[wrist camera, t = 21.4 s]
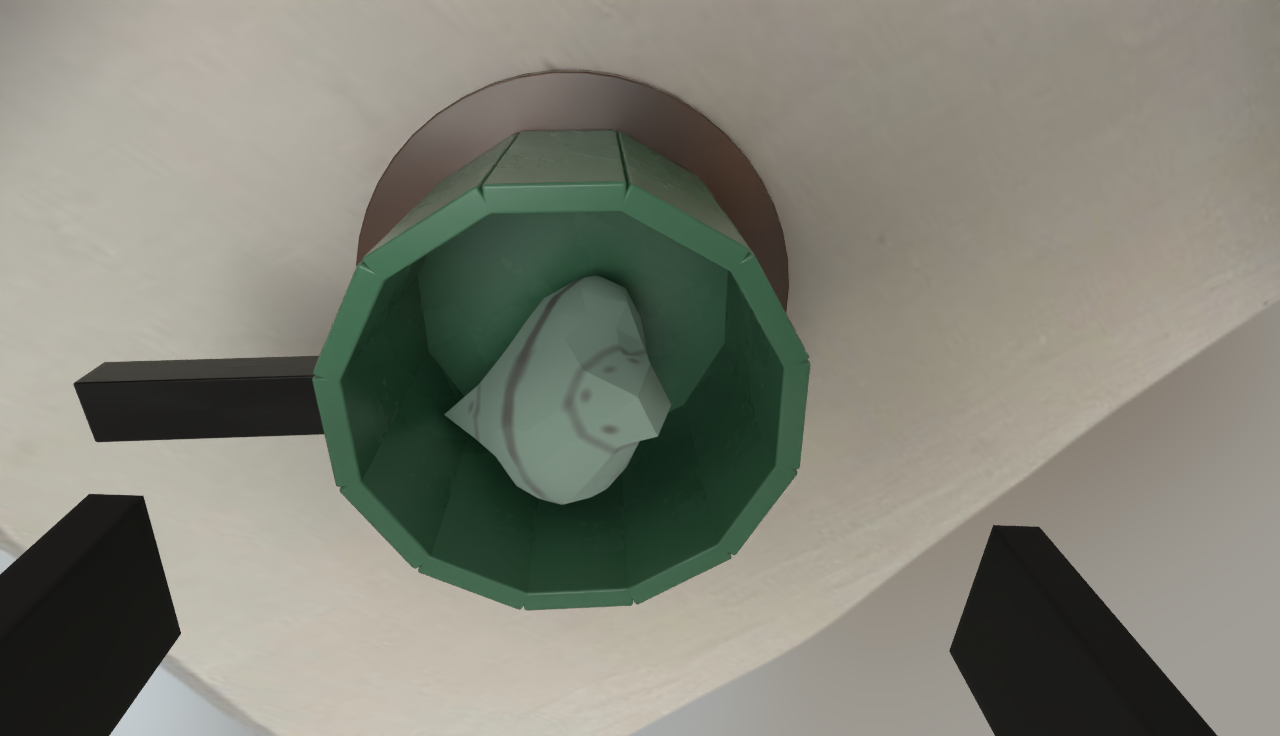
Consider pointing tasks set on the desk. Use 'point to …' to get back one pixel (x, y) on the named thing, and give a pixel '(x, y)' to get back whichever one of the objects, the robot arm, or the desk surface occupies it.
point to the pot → (475, 340)
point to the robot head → (569, 394)
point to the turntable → (581, 106)
